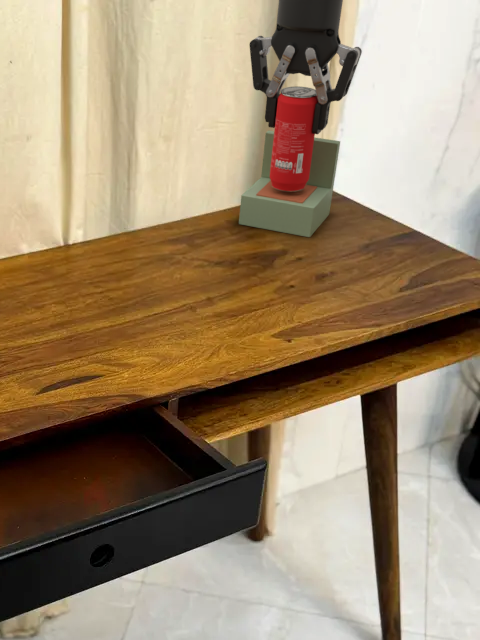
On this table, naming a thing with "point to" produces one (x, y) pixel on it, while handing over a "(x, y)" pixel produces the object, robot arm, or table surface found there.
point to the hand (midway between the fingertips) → (295, 128)
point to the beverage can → (293, 138)
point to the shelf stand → (292, 194)
